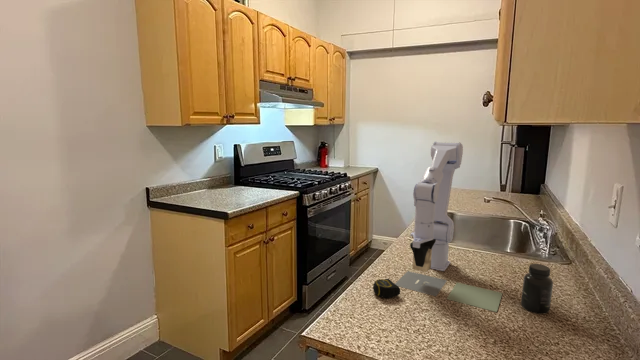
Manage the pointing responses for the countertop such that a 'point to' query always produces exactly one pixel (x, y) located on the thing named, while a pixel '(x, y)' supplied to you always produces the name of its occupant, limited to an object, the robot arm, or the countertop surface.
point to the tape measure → (385, 288)
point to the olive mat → (475, 296)
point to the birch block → (426, 264)
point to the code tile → (421, 283)
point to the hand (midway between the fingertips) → (422, 263)
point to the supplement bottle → (537, 289)
